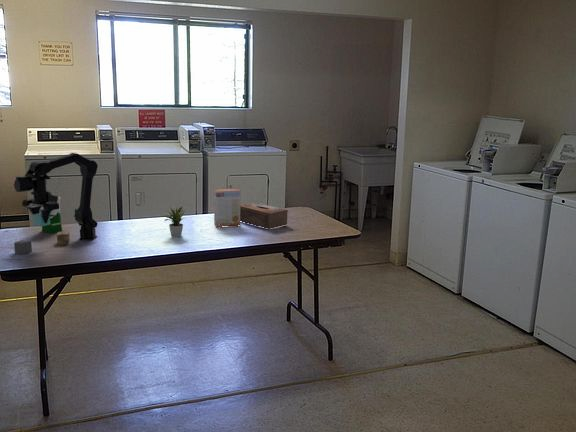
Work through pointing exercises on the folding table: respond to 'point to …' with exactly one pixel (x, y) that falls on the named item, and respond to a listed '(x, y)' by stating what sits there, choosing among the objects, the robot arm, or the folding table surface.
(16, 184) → the robot arm
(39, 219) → the teal block
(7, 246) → the folding table surface
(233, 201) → the cracker box
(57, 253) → the folding table surface
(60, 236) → the walnut block
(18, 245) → the charcoal block
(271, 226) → the tissue box cover
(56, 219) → the milk carton
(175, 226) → the house plant
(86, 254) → the folding table surface
